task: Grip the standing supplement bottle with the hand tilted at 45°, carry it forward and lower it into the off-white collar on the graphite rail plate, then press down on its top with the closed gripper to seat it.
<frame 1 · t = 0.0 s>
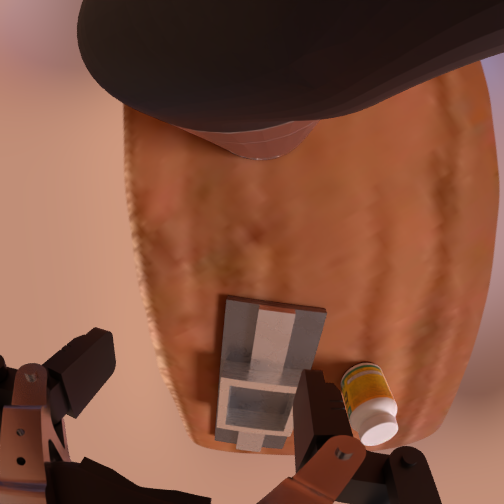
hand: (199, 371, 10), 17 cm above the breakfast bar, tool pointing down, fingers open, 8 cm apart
supplement bottle: (360, 376, 30), on the breakfast bar
rail collar: (260, 388, 31), on the breakfast bar
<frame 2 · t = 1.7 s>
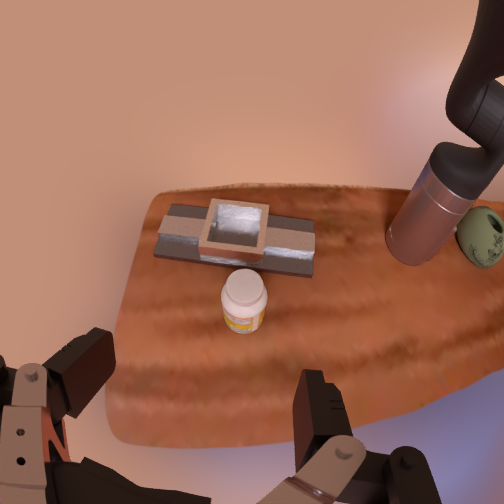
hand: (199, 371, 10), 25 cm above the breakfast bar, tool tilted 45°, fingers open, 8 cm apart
supplement bottle: (243, 315, 38), on the breakfast bar
rail collar: (235, 239, 44), on the breakfast bar
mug: (477, 246, 46), on the breakfast bar
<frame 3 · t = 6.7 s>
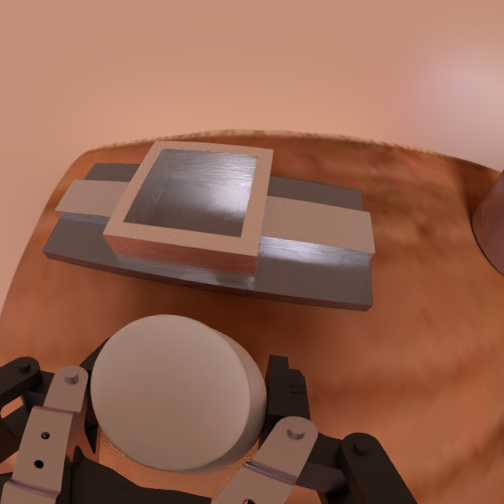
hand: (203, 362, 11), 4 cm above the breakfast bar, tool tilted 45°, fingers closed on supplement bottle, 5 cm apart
supplement bottle: (207, 405, 14), on the breakfast bar, touching gripper
rail collar: (200, 224, 20), on the breakfast bar
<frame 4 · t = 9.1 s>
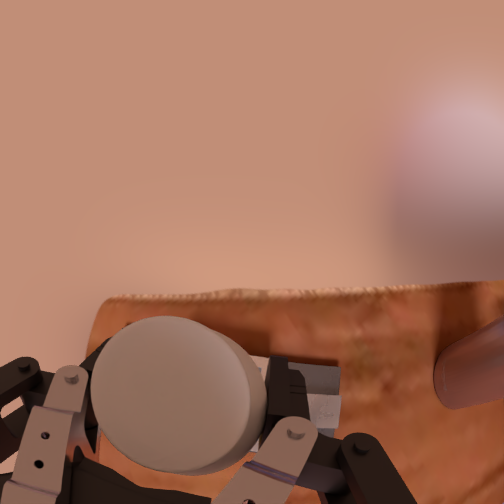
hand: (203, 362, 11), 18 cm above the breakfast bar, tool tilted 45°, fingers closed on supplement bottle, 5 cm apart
supplement bottle: (207, 406, 14), point 13 cm above the breakfast bar, touching gripper
rail collar: (219, 399, 26), on the breakfast bar
when the fingers open (7 cm above the breakfast bar, at t = 11.9 s): supplement bottle drops 1 cm, resting on rail collar.
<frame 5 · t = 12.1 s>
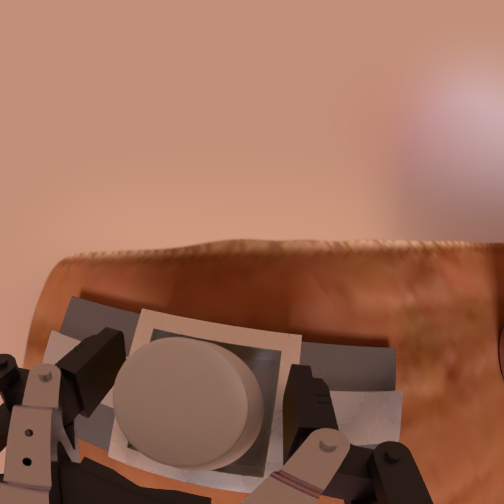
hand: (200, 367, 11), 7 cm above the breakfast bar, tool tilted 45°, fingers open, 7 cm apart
supplement bottle: (210, 409, 15), point 1 cm above the breakfast bar, touching rail collar
rail collar: (211, 406, 16), on the breakfast bar
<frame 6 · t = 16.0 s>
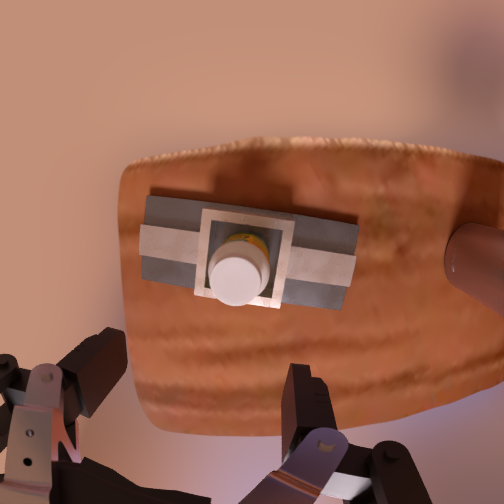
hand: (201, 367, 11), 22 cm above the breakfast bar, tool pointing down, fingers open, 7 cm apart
supplement bottle: (245, 255, 31), point 1 cm above the breakfast bar, touching rail collar
rail collar: (245, 251, 32), on the breakfast bar
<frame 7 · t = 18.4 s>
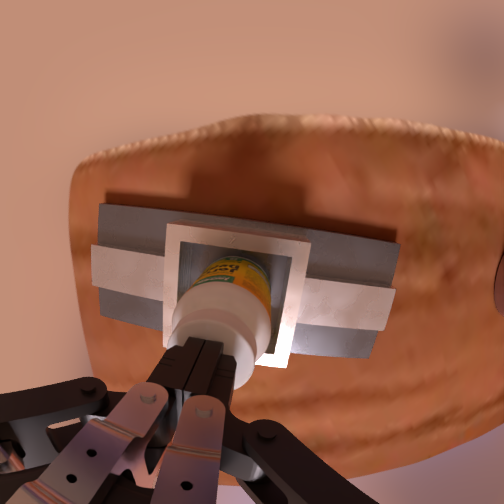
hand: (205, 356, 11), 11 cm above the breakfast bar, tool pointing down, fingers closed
supplement bottle: (236, 288, 21), point 1 cm above the breakfast bar, touching gripper, rail collar
rail collar: (236, 282, 22), on the breakfast bar
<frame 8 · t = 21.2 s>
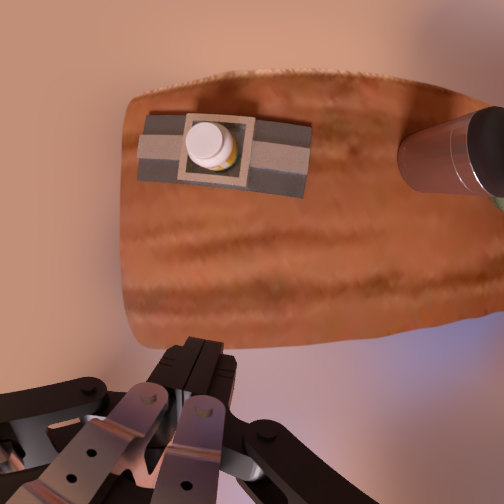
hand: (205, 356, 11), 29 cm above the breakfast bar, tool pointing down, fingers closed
supplement bottle: (220, 152, 37), point 1 cm above the breakfast bar, touching rail collar
rail collar: (220, 152, 37), on the breakfast bar
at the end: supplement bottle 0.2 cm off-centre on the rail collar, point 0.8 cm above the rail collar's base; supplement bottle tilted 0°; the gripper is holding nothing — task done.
